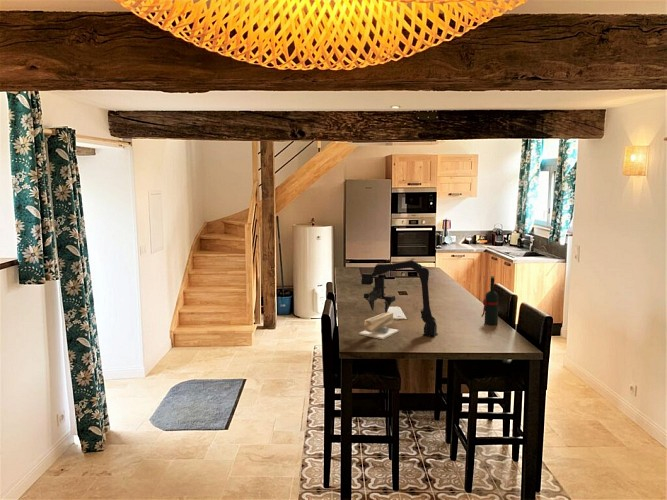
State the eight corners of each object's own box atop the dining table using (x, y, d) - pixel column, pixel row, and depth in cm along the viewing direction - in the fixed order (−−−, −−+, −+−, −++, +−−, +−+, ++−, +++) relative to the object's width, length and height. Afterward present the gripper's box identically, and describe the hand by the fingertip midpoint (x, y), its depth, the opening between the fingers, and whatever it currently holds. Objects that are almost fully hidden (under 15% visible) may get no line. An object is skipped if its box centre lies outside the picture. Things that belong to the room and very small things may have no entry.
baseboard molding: (402, 308, 359) (385, 308, 359) (402, 304, 359) (385, 304, 358) (409, 320, 328) (390, 320, 328) (409, 316, 328) (390, 316, 328)
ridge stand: (398, 331, 302) (398, 325, 302) (382, 339, 288) (382, 332, 288) (376, 327, 312) (376, 320, 311) (359, 334, 298) (359, 327, 297)
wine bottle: (478, 322, 320) (480, 275, 316) (494, 321, 322) (495, 274, 317) (484, 325, 312) (485, 277, 308) (499, 325, 314) (501, 276, 310)
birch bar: (393, 322, 307) (393, 312, 307) (371, 332, 289) (371, 321, 288) (386, 321, 310) (386, 311, 309) (364, 330, 291) (364, 320, 290)
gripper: (358, 285, 295) (358, 312, 297) (385, 289, 284) (385, 316, 286) (368, 282, 304) (368, 308, 306) (396, 286, 293) (395, 312, 295)
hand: (379, 311), depth 298 cm, fingers open, 9 cm apart
